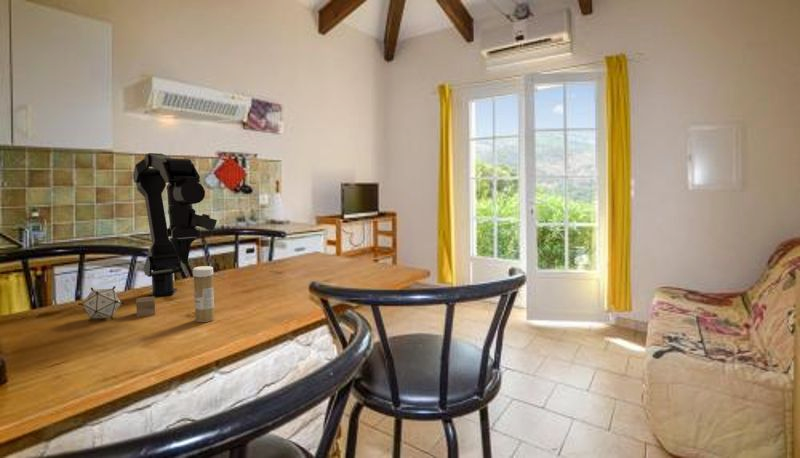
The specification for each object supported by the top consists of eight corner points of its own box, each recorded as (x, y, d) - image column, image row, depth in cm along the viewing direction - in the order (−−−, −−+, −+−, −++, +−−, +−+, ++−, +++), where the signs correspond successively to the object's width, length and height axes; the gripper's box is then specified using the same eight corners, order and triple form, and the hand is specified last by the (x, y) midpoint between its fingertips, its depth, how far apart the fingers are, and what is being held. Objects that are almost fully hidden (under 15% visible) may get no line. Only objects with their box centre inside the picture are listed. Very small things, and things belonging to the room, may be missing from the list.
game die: (105, 335, 102) (93, 311, 95) (78, 321, 103) (64, 296, 97) (135, 309, 109) (126, 285, 102) (109, 296, 110) (98, 271, 103)
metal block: (137, 313, 108) (136, 298, 108) (155, 310, 110) (154, 296, 110) (136, 317, 105) (136, 302, 104) (155, 315, 107) (154, 300, 106)
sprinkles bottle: (191, 320, 103) (189, 267, 101) (210, 315, 106) (207, 264, 105) (200, 324, 100) (197, 270, 99) (218, 319, 104) (216, 267, 102)
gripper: (219, 203, 106) (223, 263, 107) (207, 205, 122) (211, 257, 123) (170, 204, 100) (175, 268, 101) (164, 207, 116) (169, 262, 117)
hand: (185, 263), depth 111 cm, fingers closed
